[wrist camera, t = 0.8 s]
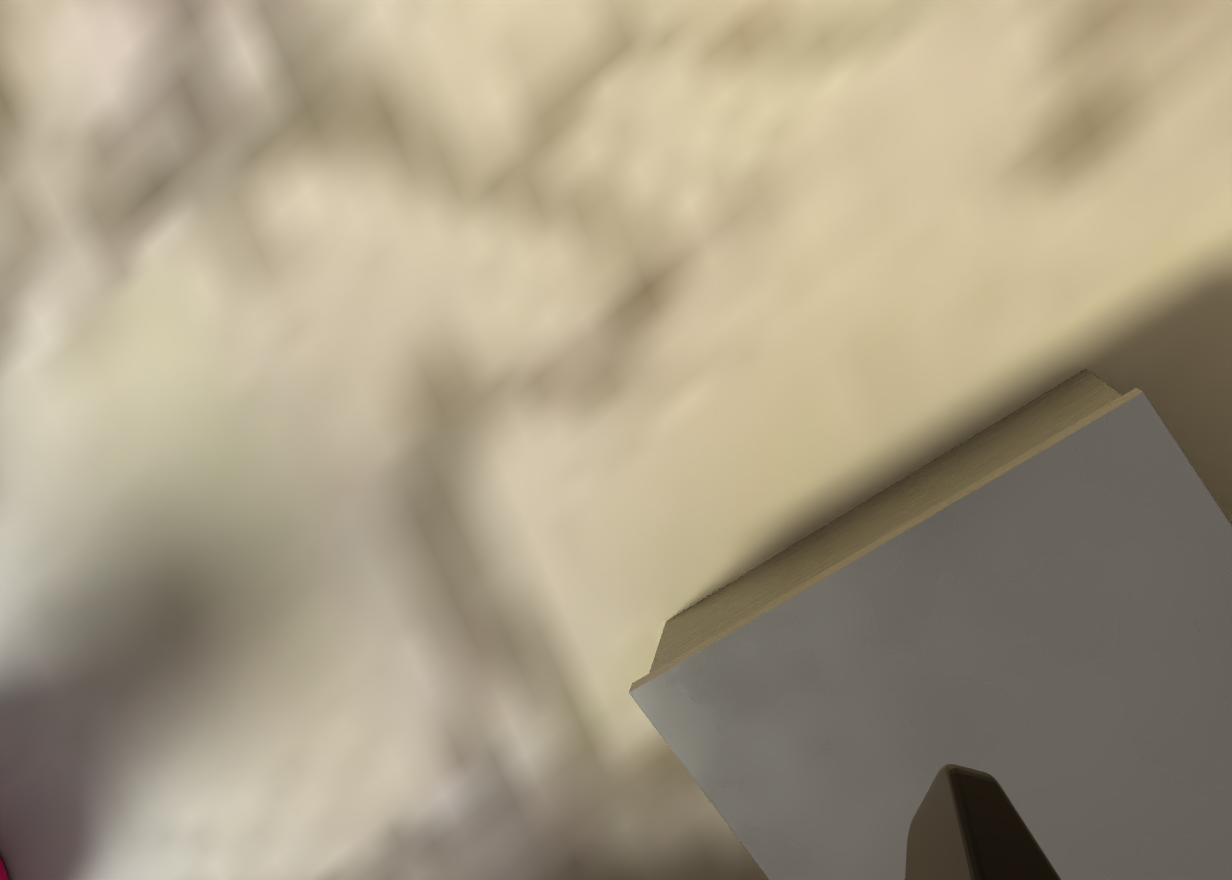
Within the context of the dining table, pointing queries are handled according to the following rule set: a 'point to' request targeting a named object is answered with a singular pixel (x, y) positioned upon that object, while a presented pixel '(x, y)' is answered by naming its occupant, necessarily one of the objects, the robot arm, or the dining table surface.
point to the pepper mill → (3, 872)
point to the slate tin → (979, 657)
